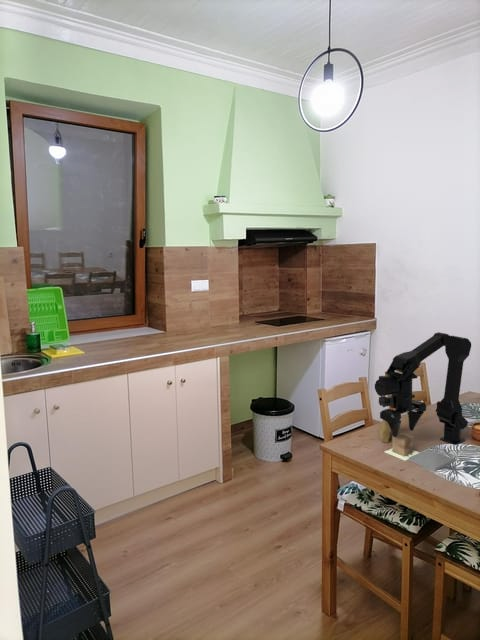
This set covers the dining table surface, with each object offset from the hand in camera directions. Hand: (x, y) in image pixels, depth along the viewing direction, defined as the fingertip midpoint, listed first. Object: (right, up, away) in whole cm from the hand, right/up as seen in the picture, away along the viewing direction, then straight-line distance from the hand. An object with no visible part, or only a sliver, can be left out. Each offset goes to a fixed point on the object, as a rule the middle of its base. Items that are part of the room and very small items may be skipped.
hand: (403, 433), depth 163 cm
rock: (-2, -5, +15) cm, 16 cm away
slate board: (+7, -8, -6) cm, 12 cm away
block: (0, -7, +1) cm, 7 cm away
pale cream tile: (0, -7, +1) cm, 7 cm away
